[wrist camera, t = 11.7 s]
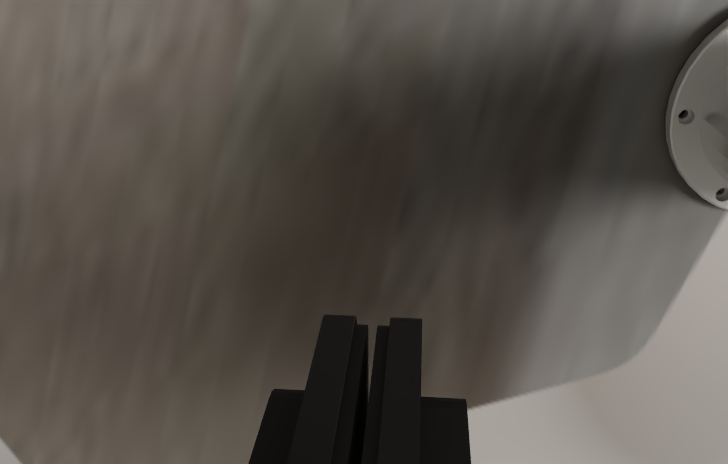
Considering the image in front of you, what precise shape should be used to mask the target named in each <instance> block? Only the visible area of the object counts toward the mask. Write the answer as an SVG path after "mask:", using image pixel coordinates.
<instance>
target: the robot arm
mask: <svg viewBox="0 0 728 464" xmlns="http://www.w3.org/2000/svg"><path fill="white" fill-rule="evenodd" d="M683 110H685V113H684V114H683V115H682V116H679V113H681V112H682V111H683ZM665 119H666V141H667V145H668V149H669V153H670V157H671V159H672V161H673V163H674V165H675V167H676V169H677V171H678V173H679V174H680V175H681V176H682V177H683V179H684V180H685V181H686V182H687V184H688V185H689V186H690V187H691V188H692V189H693V190H694V191H695V192H696V193H698V194H699V195H700V196H701V197H702V198H703V199H705V200H706V201H708V202H710V203H711V204H713V205H715V206H717V207H719V208H722V209H725V210H728V19H727V20H725V21H724V22H723V23H722V24H721V25H720V26H718V27H717V28H716V29H715V30H714V31H713V32H711V33H710V34H709V35H708V36H707V37H706V38H705V39H704V40H703V41H702V42H701V44H700V45H699V46H698V47H697V48H696V49H695V51H694V52H693V53H692V54H691V55H690V57H689V58H688V60H687V62H686V63H685V65H684V67H683V68H682V70H681V71H680V73H679V75H678V77H677V79H676V82H675V84H674V87H673V89H672V92H671V94H670V97H669V102H668V107H667V113H666V118H665ZM719 189H721V190H720V191H719V192H717V191H718V190H719ZM421 355H422V319H413V318H390V326H380V325H378V327H377V334H376V343H375V351H374V360H373V368H372V376H371V385H370V393H369V402H368V325H358V324H357V319H356V316H346V315H324V316H323V320H322V324H321V328H320V332H319V336H318V340H317V344H316V348H315V352H314V356H313V360H312V364H311V368H310V372H309V376H308V380H307V384H306V388H305V391H304V390H286V389H274V390H273V391H272V392H271V395H270V397H269V400H268V404H267V407H266V410H265V413H264V416H263V419H262V423H261V426H260V429H259V432H258V435H257V439H256V442H255V445H254V448H253V451H252V454H251V458H250V461H249V464H471V457H470V443H469V429H468V415H467V404H466V399H453V398H435V397H421Z"/></svg>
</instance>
